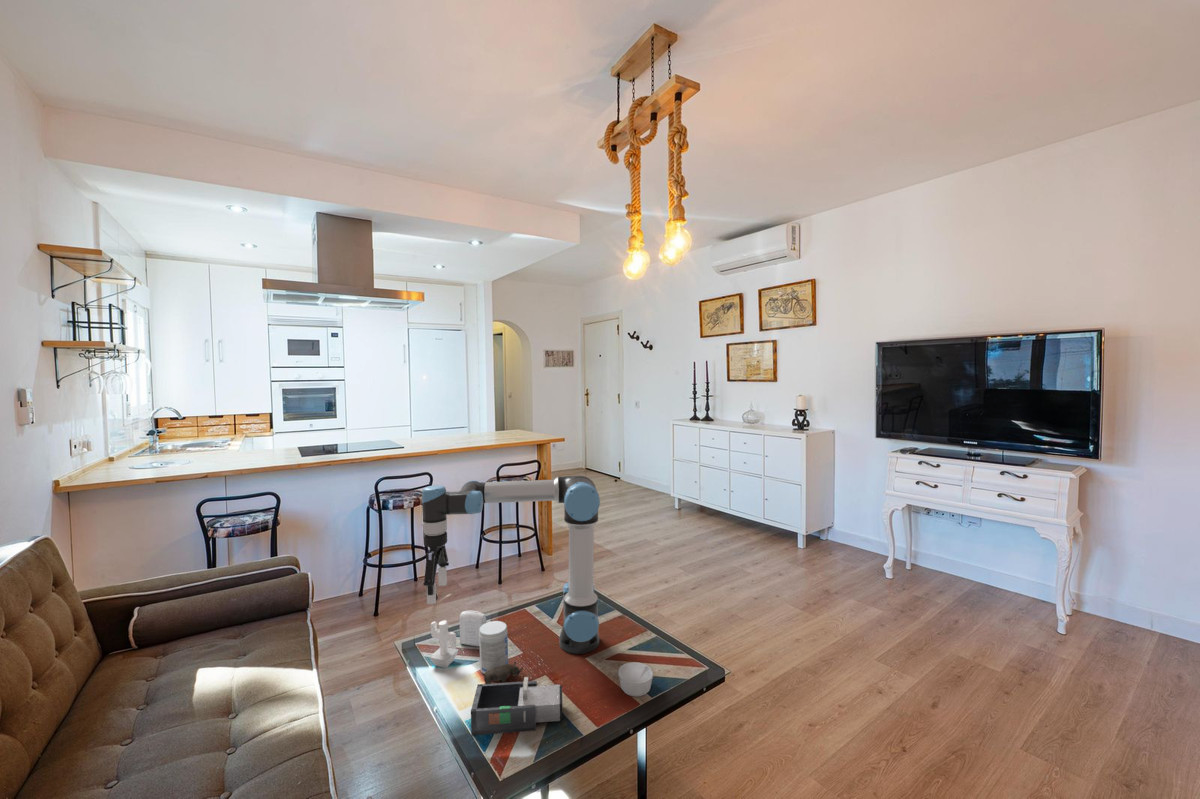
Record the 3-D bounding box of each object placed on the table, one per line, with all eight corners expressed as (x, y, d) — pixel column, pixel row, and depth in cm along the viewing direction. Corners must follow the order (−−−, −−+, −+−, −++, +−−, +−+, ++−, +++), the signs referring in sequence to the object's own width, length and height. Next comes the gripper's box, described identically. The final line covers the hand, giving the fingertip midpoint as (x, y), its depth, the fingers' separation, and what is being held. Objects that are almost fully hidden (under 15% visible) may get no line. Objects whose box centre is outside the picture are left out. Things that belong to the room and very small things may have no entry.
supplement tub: (512, 670, 168) (511, 629, 167) (486, 680, 163) (485, 638, 162) (501, 657, 176) (500, 617, 176) (476, 666, 171) (475, 625, 170)
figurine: (450, 671, 168) (448, 629, 167) (426, 667, 171) (425, 625, 170) (461, 659, 175) (460, 618, 174) (439, 655, 178) (437, 615, 177)
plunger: (562, 699, 151) (561, 671, 151) (562, 720, 142) (562, 690, 142) (520, 702, 150) (519, 674, 150) (518, 723, 141) (517, 693, 141)
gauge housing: (537, 702, 152) (536, 680, 152) (535, 731, 140) (534, 707, 140) (478, 706, 151) (477, 683, 150) (471, 736, 138) (470, 711, 138)
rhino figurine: (525, 679, 164) (525, 662, 163) (484, 693, 157) (484, 674, 157) (521, 673, 167) (521, 656, 167) (481, 685, 161) (480, 668, 160)
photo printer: (488, 641, 187) (487, 610, 186) (482, 648, 182) (482, 615, 182) (464, 638, 189) (463, 607, 188) (458, 644, 185) (457, 612, 184)
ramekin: (657, 697, 154) (657, 680, 154) (622, 701, 152) (622, 685, 152) (647, 675, 165) (647, 660, 165) (615, 679, 163) (615, 663, 163)
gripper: (434, 521, 177) (436, 578, 178) (411, 545, 152) (414, 612, 153) (455, 520, 177) (457, 578, 178) (436, 545, 152) (438, 611, 154)
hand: (437, 594), depth 166 cm, fingers open, 13 cm apart
